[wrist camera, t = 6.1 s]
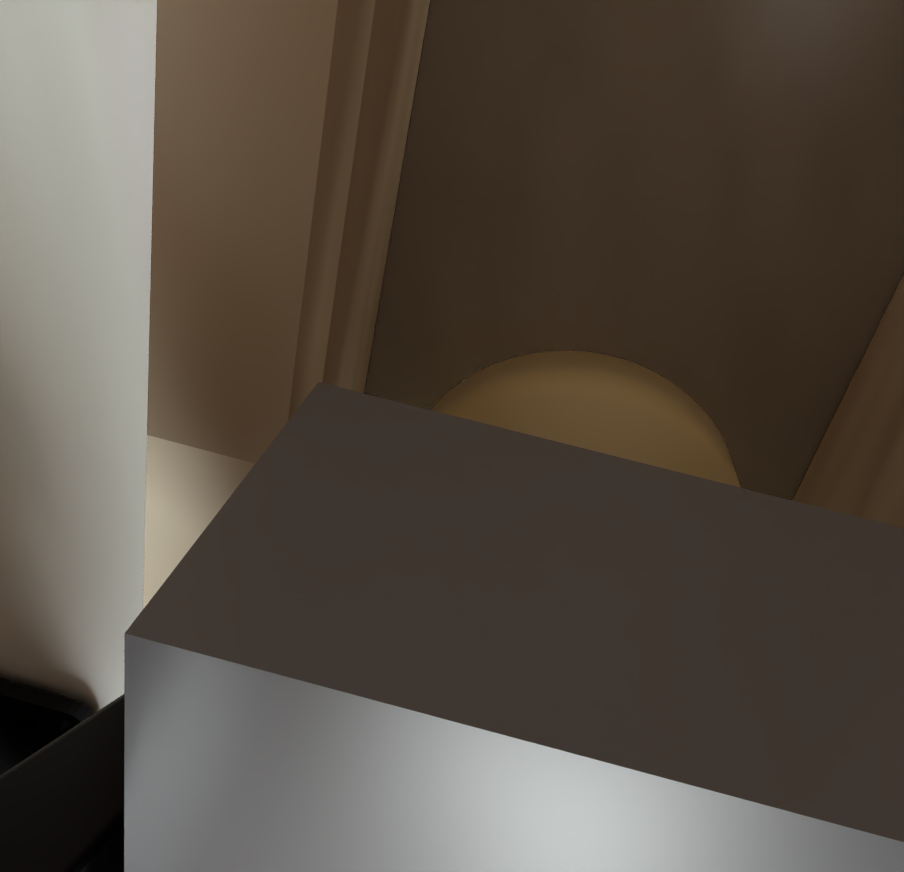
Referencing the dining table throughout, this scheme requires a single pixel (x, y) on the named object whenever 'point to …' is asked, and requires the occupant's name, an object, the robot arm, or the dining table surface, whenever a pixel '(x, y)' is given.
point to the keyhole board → (331, 253)
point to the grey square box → (518, 649)
